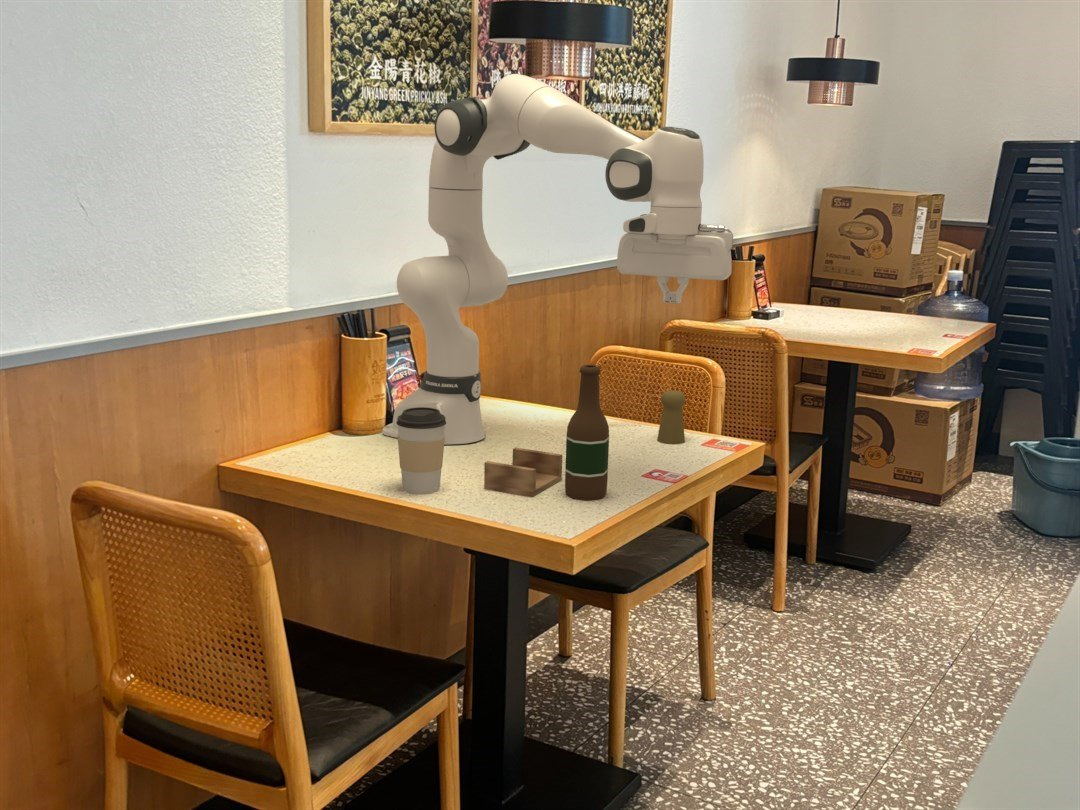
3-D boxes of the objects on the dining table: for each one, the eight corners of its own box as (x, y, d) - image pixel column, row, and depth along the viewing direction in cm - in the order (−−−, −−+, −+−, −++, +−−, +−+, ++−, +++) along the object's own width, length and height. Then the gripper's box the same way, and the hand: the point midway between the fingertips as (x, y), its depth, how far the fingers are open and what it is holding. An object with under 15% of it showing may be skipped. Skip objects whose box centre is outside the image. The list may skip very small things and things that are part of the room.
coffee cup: (386, 488, 211) (385, 408, 208) (422, 478, 218) (422, 401, 214) (419, 499, 205) (419, 417, 202) (456, 488, 212) (456, 409, 208)
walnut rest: (484, 488, 212) (484, 462, 211) (515, 472, 223) (515, 447, 222) (532, 497, 208) (533, 470, 207) (561, 479, 219) (562, 454, 218)
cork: (682, 437, 252) (685, 388, 250) (687, 444, 247) (689, 394, 244) (655, 436, 252) (657, 387, 250) (658, 444, 246) (661, 394, 244)
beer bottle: (562, 488, 214) (566, 361, 208) (604, 488, 214) (609, 362, 209) (566, 501, 206) (570, 370, 201) (609, 501, 207) (614, 370, 201)
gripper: (738, 225, 198) (734, 304, 201) (627, 219, 206) (625, 296, 209) (728, 227, 192) (724, 309, 195) (614, 221, 201) (612, 300, 204)
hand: (672, 302), depth 202 cm, fingers closed
